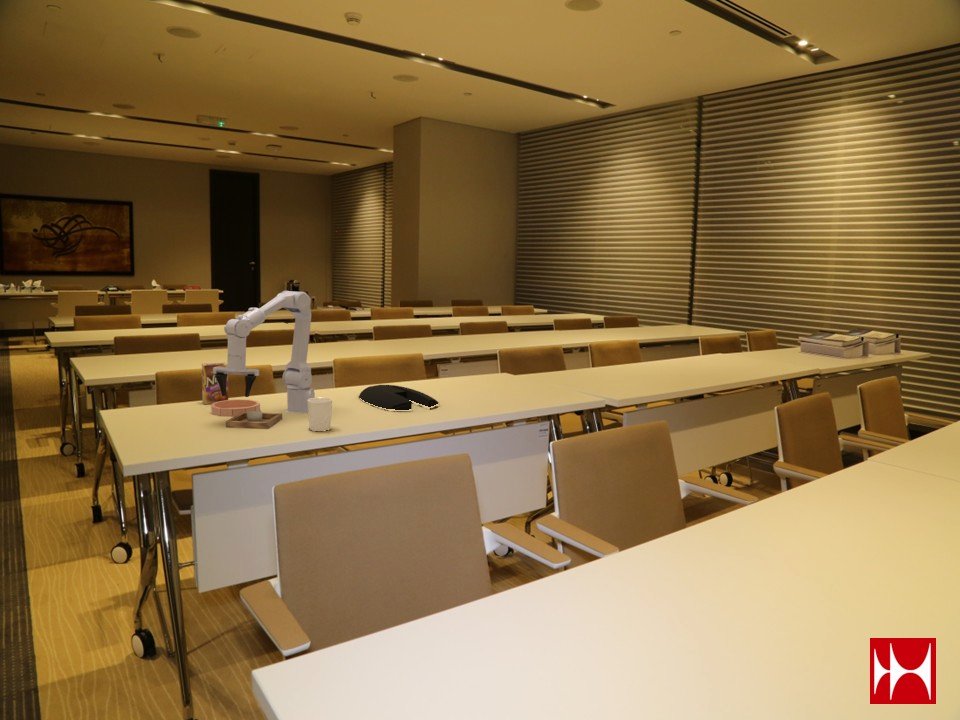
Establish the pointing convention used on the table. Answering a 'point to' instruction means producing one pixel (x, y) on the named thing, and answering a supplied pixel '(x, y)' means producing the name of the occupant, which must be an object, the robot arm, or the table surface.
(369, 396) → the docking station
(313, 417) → the white cup
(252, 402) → the bowl
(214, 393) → the candy box
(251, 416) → the cylinder
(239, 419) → the parts tray
